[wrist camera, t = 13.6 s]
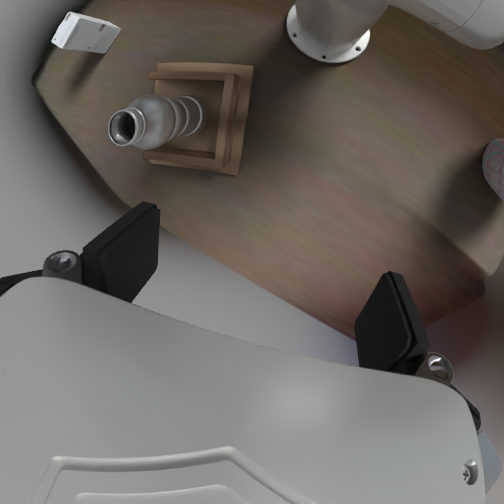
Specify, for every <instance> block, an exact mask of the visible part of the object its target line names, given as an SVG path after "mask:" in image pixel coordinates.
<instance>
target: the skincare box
mask: <svg viewBox="0 0 504 504" xmlns="http://www.w3.org/2000/svg"><path fill="white" fill-rule="evenodd" d="M120 31H121V29H120V28H118V27H117V26H115V25H113V24H112V23H110V22H107V21H103V20H100V19H96V18H92V17H89V16H85V15H80V14H76V13H72V12H69V13H68V14H67V16H66V17H65V19H64V20H63V22H62V23H61V25H60V26H59V28H58V30H57V32H56V34H55V36H54V37H53V39H52V43H54V44H55V45H57V46H58V47H60V48H61V49H70V50H79V51H88V52H96V53H102V54H105V53H106V52H107V50H108V49H109V47H110V46H111V44H112V43H113V42H114V40H115V39H116V37H117V36H118V34H119V33H120Z"/></svg>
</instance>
